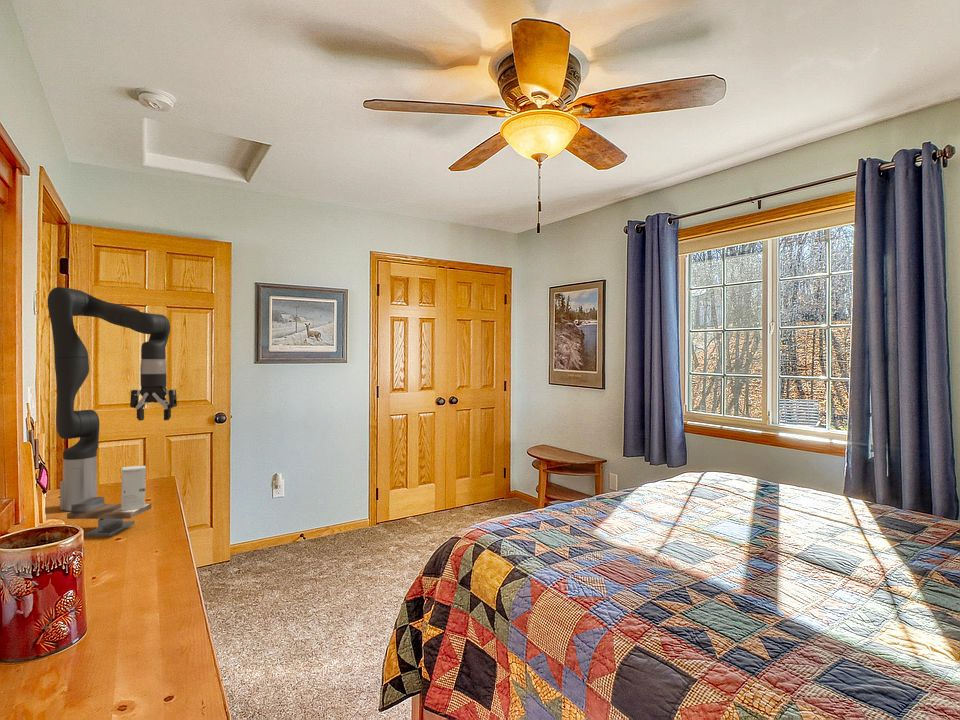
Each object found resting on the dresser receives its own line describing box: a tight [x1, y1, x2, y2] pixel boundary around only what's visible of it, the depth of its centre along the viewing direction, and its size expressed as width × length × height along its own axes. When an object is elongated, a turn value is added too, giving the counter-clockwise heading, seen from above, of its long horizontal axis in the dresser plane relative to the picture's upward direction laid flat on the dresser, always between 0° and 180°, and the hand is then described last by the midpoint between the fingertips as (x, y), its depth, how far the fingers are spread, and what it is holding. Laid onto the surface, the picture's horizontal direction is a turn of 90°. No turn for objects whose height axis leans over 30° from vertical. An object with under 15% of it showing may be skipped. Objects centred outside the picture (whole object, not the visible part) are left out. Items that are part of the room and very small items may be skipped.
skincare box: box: [120, 465, 147, 511], centre depth 156 cm, size 6×4×12 cm
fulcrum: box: [84, 519, 135, 538], centre depth 156 cm, size 7×11×4 cm, turn 2°
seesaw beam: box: [66, 496, 152, 520], centre depth 156 cm, size 18×10×4 cm, turn 92°
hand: (153, 420), depth 178 cm, fingers open, 8 cm apart
